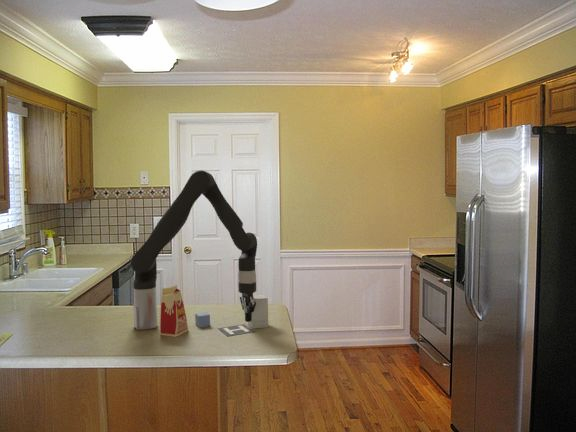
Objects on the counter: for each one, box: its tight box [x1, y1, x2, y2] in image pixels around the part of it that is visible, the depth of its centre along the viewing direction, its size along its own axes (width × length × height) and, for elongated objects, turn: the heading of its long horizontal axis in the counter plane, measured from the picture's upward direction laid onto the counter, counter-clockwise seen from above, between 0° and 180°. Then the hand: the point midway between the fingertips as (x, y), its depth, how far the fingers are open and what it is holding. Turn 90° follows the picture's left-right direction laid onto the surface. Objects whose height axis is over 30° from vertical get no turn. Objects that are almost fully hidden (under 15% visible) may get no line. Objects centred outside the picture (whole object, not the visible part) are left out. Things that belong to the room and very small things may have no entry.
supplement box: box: [247, 294, 269, 330], centre depth 222 cm, size 7×7×13 cm
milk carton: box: [159, 285, 189, 338], centre depth 214 cm, size 9×9×20 cm
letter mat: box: [217, 323, 256, 337], centre depth 217 cm, size 12×12×1 cm
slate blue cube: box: [194, 311, 211, 328], centre depth 225 cm, size 5×5×5 cm
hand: (248, 321), depth 219 cm, fingers closed
